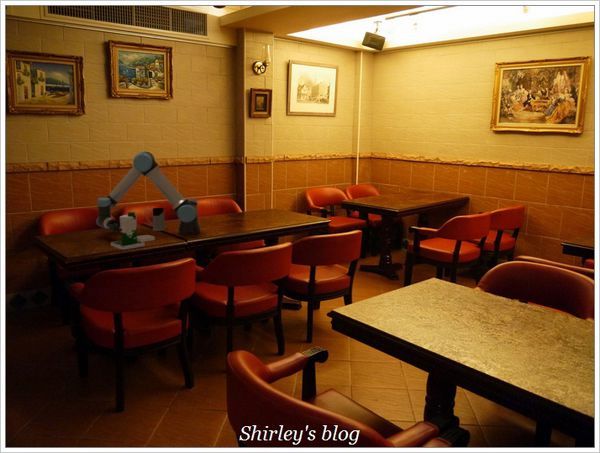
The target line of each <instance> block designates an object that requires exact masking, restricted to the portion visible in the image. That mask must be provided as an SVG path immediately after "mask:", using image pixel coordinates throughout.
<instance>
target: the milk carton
mask: <svg viewBox="0 0 600 453" xmlns="http://www.w3.org/2000/svg"><path fill="white" fill-rule="evenodd" d="M119 222H120V227H121V228H126V233H123V232H120V239H121V240H120V241H121V242H122V246H126V245H132V244H137V236H138V231H137V228H138V227H137V226H138V225H137V214H135V212H134V211H129V212H127V214H123V215H121V216H119Z"/></svg>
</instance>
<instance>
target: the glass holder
mask: <svg viewBox="0 0 600 453" xmlns="http://www.w3.org/2000/svg"><path fill="white" fill-rule="evenodd" d="M147 211H149V212H150V216H151V217H152V222H151V221H150V220H149V218H148V216H147ZM145 218H146V220H147V221H148V222H149V223H150V224H151V225H152V227H153V228H152V231H156V232H161V231H165V230H166V227H165V225H166V224H165V223H166V222H165V208H164V207H153V208H152V211H151V210H150V209H146V210H145Z"/></svg>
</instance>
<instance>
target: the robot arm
mask: <svg viewBox="0 0 600 453" xmlns="http://www.w3.org/2000/svg"><path fill="white" fill-rule="evenodd" d="M132 161H133V162H132V167H131V169H130V170H129V171H128V172H127V173H126V175H124V176H123V178H122V179H121V180H120V182H118V183H117V185H116V186H115V187H114V188H113V190H111V191H110V193H109V194H108V195H107V197H98V199H97V212H98V213H97V214H98V217H97V218H96V220H95V222H96V225H97V226H99V227H100V228H103V229H106V230H107V231H112V232H116V233H121V232H123V233H126V228H121V227H120V220H119V219H115V218H113V217H112V212H111V210H112V209H114V208H116V205H117V204H118V203H119V201H120V200H121V199H122V198H123V197H124V196H125V195H126V194H127V193H128V192H129V190H130V189H131V188H132V187H133V185H135V183H136V182H137V181H138V180H139V179H140V178H141V176H143V177H144V178H149V180H150V181H151V182H152V183H153V184H154V186H155V187H156V188H157V189H158V191H159V192H160V193H161V194H162V195H163V196H164V198H166V200H167V201H168V202H169V203H170V205H171V206H172V210H173V211H174V213H175V214H176V215H177V218H178V219H179V221H180V222H179V226H178V229H177V231H178V234H179V235H189V236H190V235H197V234H200V233H201V232H202V231H201V230H202V229H201V227H200V224H199V221H198V219H199V218H198V200H197V199H188V198H187V197H183V196H182V194H181V193H180V192H179V191H178V189H176V187H175V186H174V185H173V183H172V182H171V181H170V180H169V179H168V178H167V177H166V176H165V174H164V173H163V172H162V171H161V169H159V168H160V165H159V164H158V162H157V161H156V159H155V156H154V154H152V153H151V152H149V151H141V152H138V153H137V154H136V155H135V156H134V158H133V160H132Z"/></svg>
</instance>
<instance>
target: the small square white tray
mask: <svg viewBox="0 0 600 453" xmlns="http://www.w3.org/2000/svg"><path fill="white" fill-rule="evenodd" d="M137 240H138V241H141V242H144V243H145V242H151V241H156V237H155V236H153V235H149V234H144V235H137Z"/></svg>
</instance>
